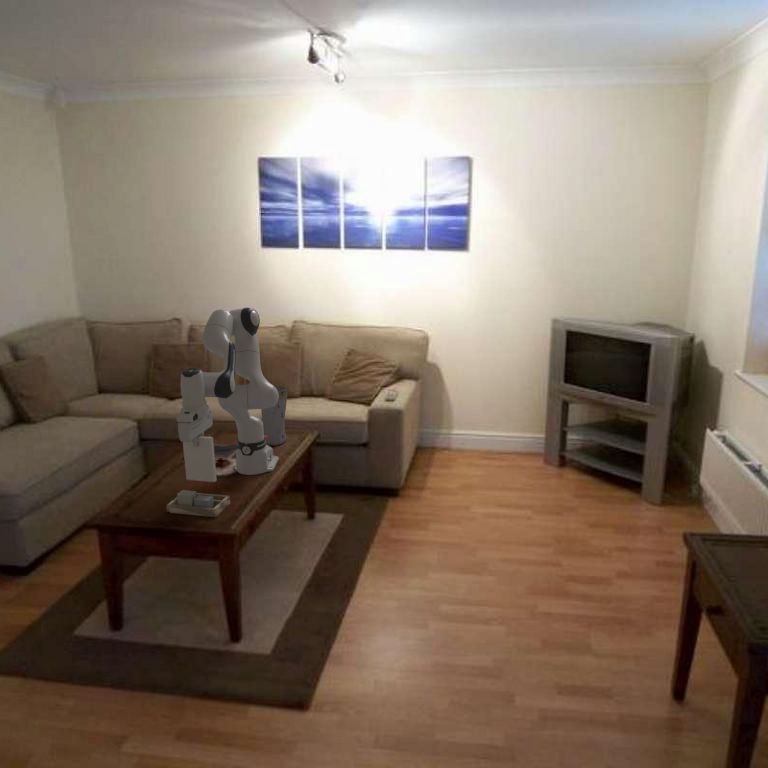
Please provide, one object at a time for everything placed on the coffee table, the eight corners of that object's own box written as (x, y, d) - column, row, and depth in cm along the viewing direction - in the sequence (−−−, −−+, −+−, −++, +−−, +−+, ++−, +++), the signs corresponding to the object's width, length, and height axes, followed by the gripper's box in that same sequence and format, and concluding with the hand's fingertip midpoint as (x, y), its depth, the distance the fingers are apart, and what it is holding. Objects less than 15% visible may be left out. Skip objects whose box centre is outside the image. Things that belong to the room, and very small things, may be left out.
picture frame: (241, 450, 322) (200, 447, 327) (241, 445, 322) (200, 442, 326) (227, 462, 307) (184, 459, 311) (227, 457, 306) (184, 454, 310)
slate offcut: (200, 508, 260) (198, 495, 258) (214, 509, 258) (213, 496, 257) (195, 512, 256) (193, 499, 254) (209, 514, 254) (208, 500, 253)
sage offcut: (183, 506, 261) (182, 490, 259) (197, 507, 260) (196, 491, 258) (178, 510, 257) (176, 494, 255) (192, 512, 256) (191, 495, 254)
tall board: (188, 477, 263) (184, 435, 258) (216, 480, 260) (212, 437, 255) (186, 479, 261) (182, 436, 256) (214, 482, 259) (210, 438, 254)
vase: (286, 447, 324) (284, 391, 317) (258, 446, 325) (256, 391, 317) (290, 438, 337) (289, 384, 330) (263, 437, 337) (261, 384, 330)
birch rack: (183, 498, 268) (183, 491, 267) (230, 502, 264) (229, 495, 263) (167, 512, 256) (166, 505, 255) (215, 517, 252) (214, 509, 251)
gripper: (200, 402, 263) (203, 435, 267) (173, 418, 244) (177, 453, 248) (215, 403, 262) (218, 436, 266) (189, 419, 243) (192, 455, 247)
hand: (198, 444), depth 257 cm, fingers closed on tall board, 2 cm apart
